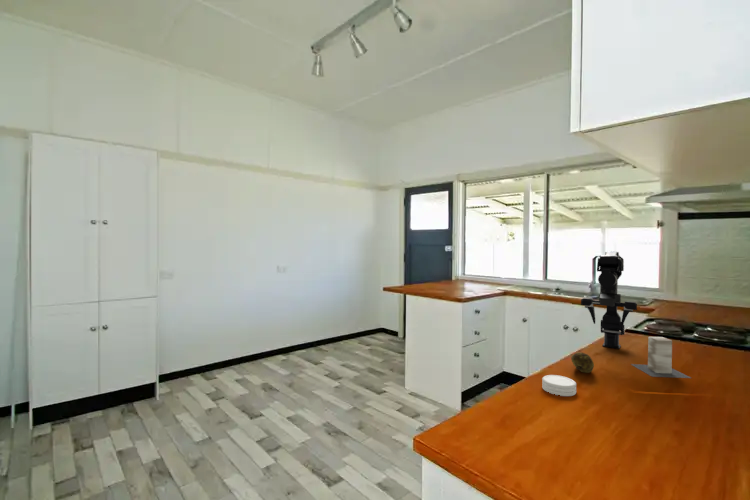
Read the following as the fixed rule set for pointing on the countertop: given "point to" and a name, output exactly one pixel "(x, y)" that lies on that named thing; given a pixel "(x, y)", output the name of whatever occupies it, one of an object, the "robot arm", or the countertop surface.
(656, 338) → the tall block
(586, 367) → the potato
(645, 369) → the rubber mat
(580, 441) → the countertop surface
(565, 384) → the coaster
